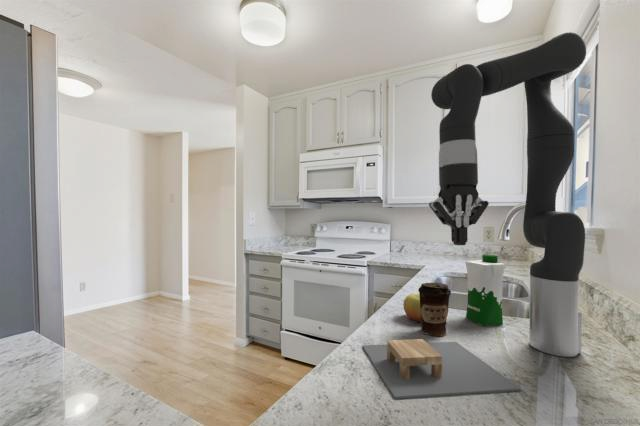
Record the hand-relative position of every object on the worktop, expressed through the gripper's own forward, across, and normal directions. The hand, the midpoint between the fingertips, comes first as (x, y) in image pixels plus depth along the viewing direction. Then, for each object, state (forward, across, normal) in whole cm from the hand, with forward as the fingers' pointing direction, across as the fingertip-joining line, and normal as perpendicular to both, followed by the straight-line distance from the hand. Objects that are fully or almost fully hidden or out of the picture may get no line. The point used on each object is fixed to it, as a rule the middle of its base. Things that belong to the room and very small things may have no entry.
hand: (459, 244), depth 63 cm
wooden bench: (+23, +8, +1) cm, 24 cm away
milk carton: (+26, -23, -24) cm, 42 cm away
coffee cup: (+26, -3, -17) cm, 31 cm away
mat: (+25, +7, 0) cm, 26 cm away
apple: (+26, -4, -27) cm, 37 cm away
